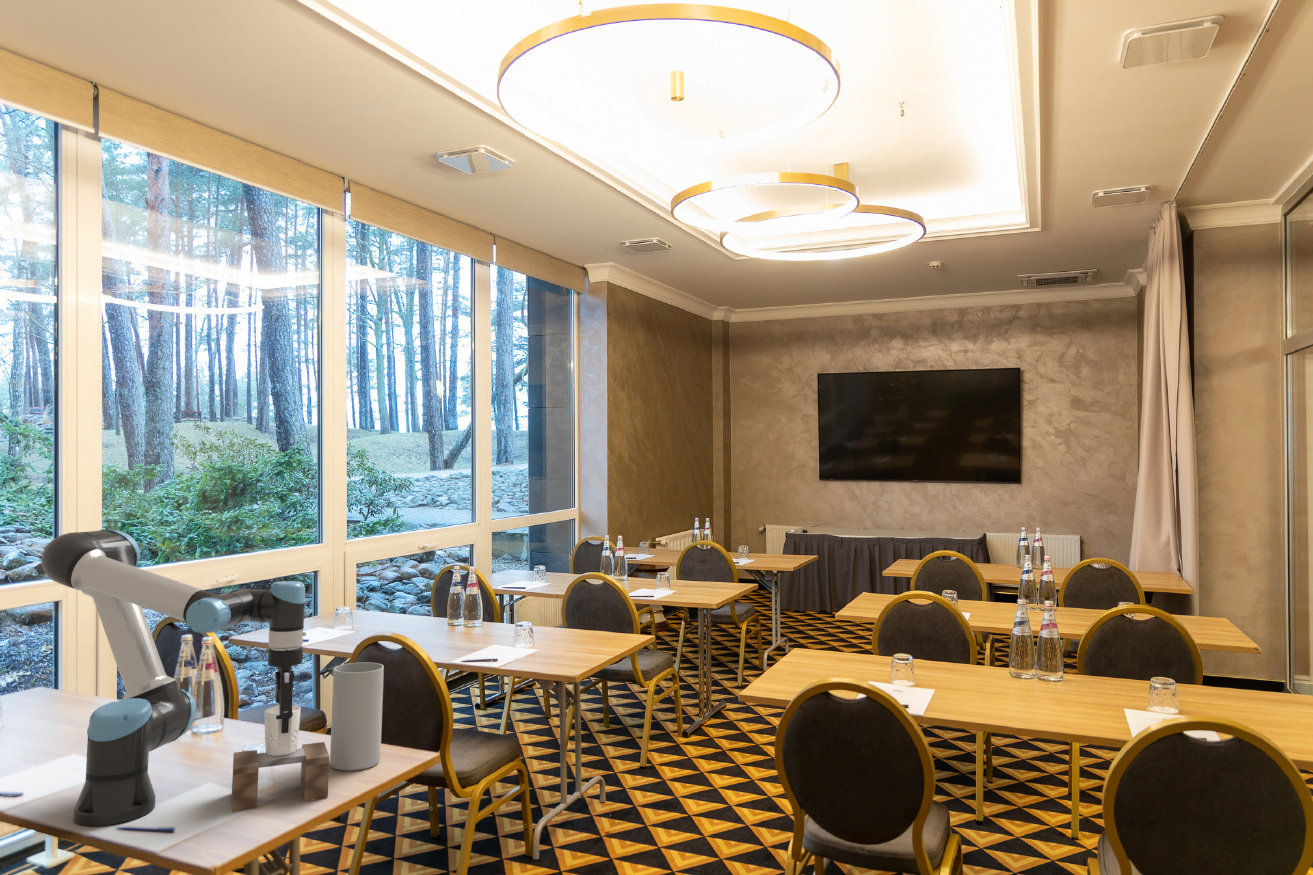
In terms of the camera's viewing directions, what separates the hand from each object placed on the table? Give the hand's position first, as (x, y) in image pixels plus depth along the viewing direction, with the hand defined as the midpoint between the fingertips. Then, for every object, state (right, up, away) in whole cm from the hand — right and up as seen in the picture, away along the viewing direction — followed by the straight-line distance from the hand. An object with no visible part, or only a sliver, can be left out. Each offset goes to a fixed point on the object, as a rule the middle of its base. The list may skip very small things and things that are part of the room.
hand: (282, 738), depth 196 cm
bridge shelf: (0, -13, -1) cm, 13 cm away
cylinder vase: (+9, -15, +22) cm, 28 cm away
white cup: (-1, -4, +2) cm, 4 cm away
